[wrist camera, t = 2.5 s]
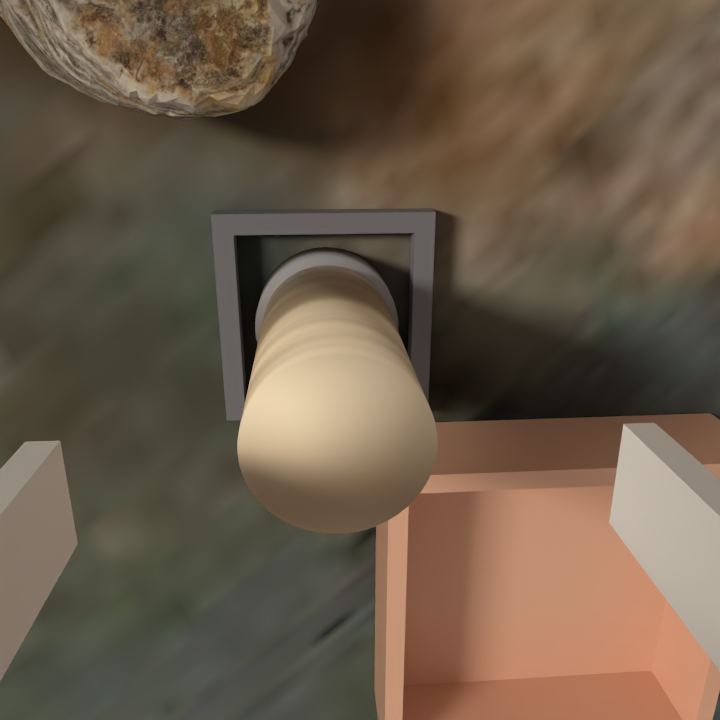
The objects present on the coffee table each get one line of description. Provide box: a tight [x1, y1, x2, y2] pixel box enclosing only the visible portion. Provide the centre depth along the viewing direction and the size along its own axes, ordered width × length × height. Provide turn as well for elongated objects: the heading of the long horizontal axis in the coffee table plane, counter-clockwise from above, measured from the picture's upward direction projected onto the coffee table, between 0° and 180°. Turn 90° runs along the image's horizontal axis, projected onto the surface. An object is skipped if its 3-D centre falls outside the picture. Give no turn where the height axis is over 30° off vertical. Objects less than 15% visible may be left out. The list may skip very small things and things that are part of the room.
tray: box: [375, 413, 720, 720], centre depth 31 cm, size 16×16×5 cm
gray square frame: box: [211, 209, 436, 421], centre depth 27 cm, size 9×9×1 cm
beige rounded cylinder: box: [238, 247, 438, 534], centre depth 22 cm, size 6×6×12 cm
